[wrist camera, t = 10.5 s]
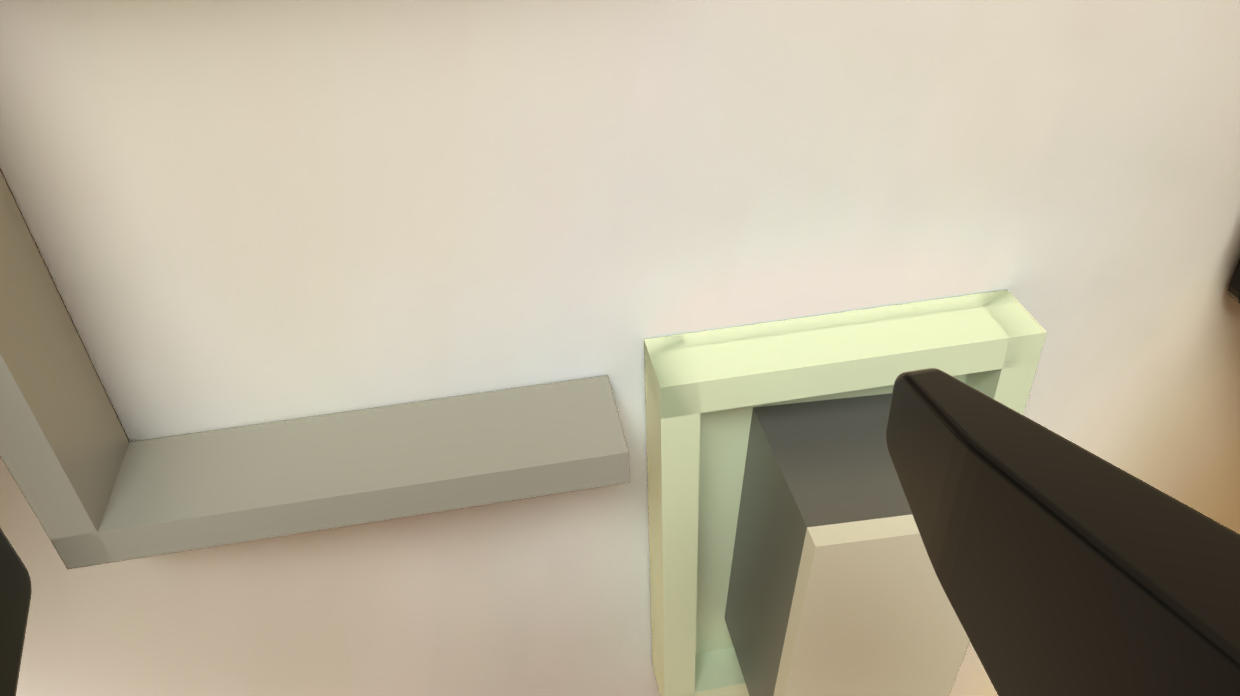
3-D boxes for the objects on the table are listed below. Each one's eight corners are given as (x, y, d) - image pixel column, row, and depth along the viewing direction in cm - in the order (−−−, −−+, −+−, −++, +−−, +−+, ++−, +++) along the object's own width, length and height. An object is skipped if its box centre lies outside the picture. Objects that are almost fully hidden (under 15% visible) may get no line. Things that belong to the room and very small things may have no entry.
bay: (567, -328, 16) (595, -323, 13) (609, 404, 25) (629, 482, 23) (-290, -286, 14) (-431, -272, 12) (101, 477, 24) (67, 569, 21)
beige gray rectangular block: (925, 389, 26) (1016, 521, 22) (868, 598, 32) (933, 734, 28) (752, 407, 26) (815, 546, 22) (724, 617, 31) (770, 760, 27)
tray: (1007, 289, 25) (1046, 332, 24) (925, 614, 34) (950, 662, 32) (644, 339, 24) (660, 387, 23) (652, 663, 33) (665, 715, 31)
